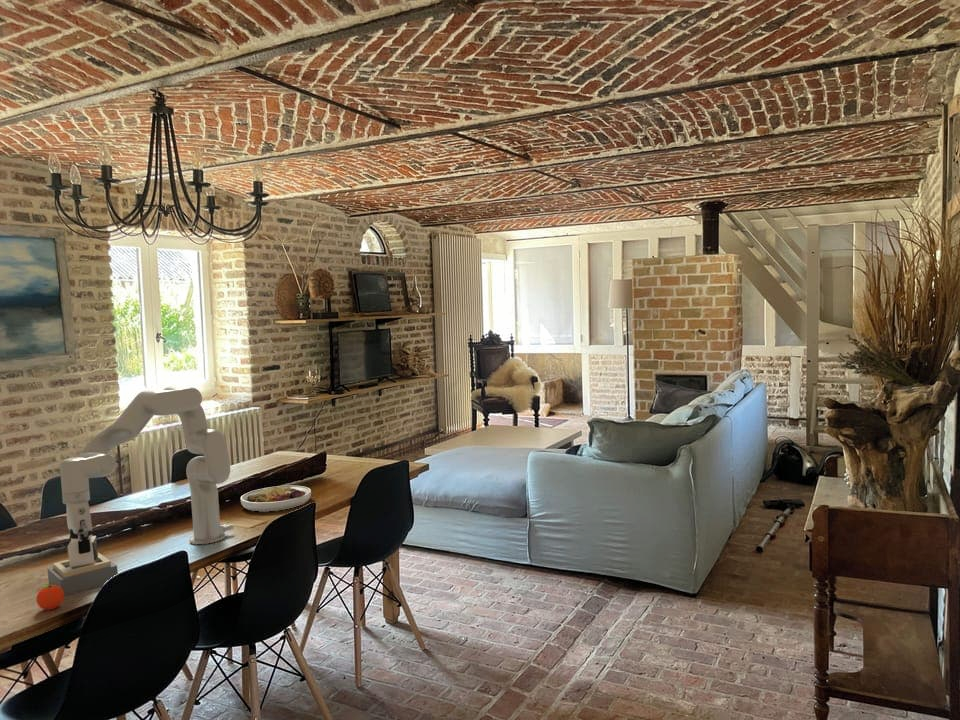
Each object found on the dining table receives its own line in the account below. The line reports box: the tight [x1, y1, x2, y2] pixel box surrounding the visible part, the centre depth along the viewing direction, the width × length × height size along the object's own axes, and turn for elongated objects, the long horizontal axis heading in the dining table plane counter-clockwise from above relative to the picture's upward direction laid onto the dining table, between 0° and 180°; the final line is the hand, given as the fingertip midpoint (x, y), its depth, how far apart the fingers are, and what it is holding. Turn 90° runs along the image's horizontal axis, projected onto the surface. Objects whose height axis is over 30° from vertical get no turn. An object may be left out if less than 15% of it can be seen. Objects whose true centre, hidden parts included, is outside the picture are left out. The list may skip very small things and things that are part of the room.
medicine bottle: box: [67, 525, 99, 567], centre depth 225 cm, size 7×7×12 cm
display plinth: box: [46, 552, 119, 596], centre depth 225 cm, size 16×16×6 cm
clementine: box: [35, 584, 65, 611], centre depth 205 cm, size 8×7×7 cm
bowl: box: [240, 484, 312, 513], centre depth 312 cm, size 30×30×8 cm
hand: (80, 549), depth 225 cm, fingers closed on medicine bottle, 9 cm apart
